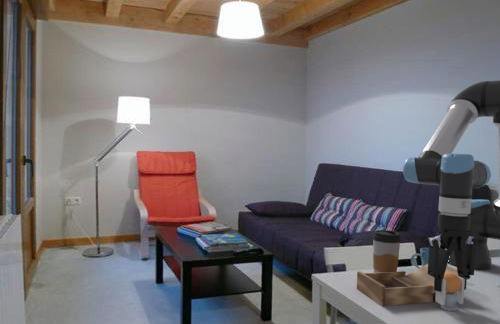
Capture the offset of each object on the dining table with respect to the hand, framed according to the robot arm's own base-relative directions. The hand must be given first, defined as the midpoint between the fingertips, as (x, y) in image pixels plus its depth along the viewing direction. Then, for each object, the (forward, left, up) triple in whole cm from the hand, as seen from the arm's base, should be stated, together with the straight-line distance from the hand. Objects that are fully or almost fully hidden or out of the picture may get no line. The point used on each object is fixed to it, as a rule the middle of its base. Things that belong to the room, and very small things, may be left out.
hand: (449, 302), depth 113 cm
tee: (0, 0, -1) cm, 1 cm away
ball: (0, 0, +5) cm, 5 cm away
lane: (+4, -11, -1) cm, 12 cm away
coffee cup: (+5, -23, -2) cm, 23 cm away
